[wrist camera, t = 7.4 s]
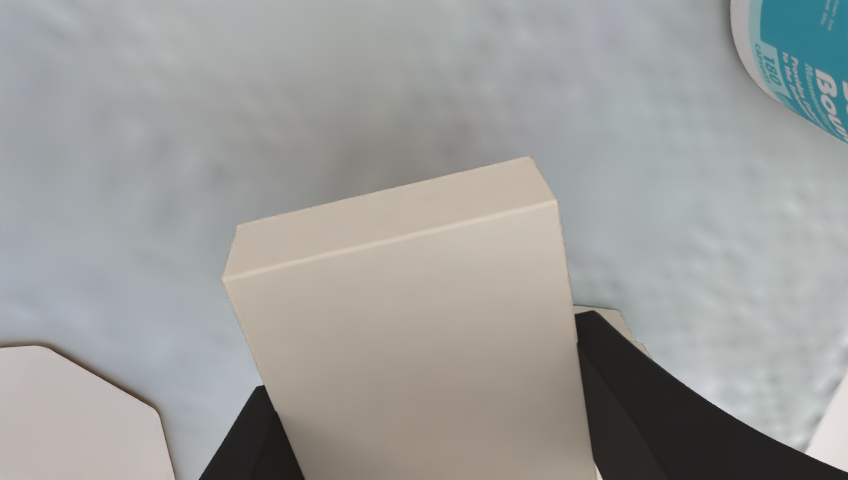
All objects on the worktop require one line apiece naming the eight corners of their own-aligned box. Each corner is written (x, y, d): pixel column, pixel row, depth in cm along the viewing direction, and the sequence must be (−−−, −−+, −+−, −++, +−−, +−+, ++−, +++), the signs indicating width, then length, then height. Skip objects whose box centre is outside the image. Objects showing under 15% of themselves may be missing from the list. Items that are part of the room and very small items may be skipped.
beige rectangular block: (581, 474, 16) (607, 545, 14) (352, 525, 16) (352, 601, 14) (531, 153, 12) (559, 199, 10) (235, 222, 12) (218, 279, 11)
